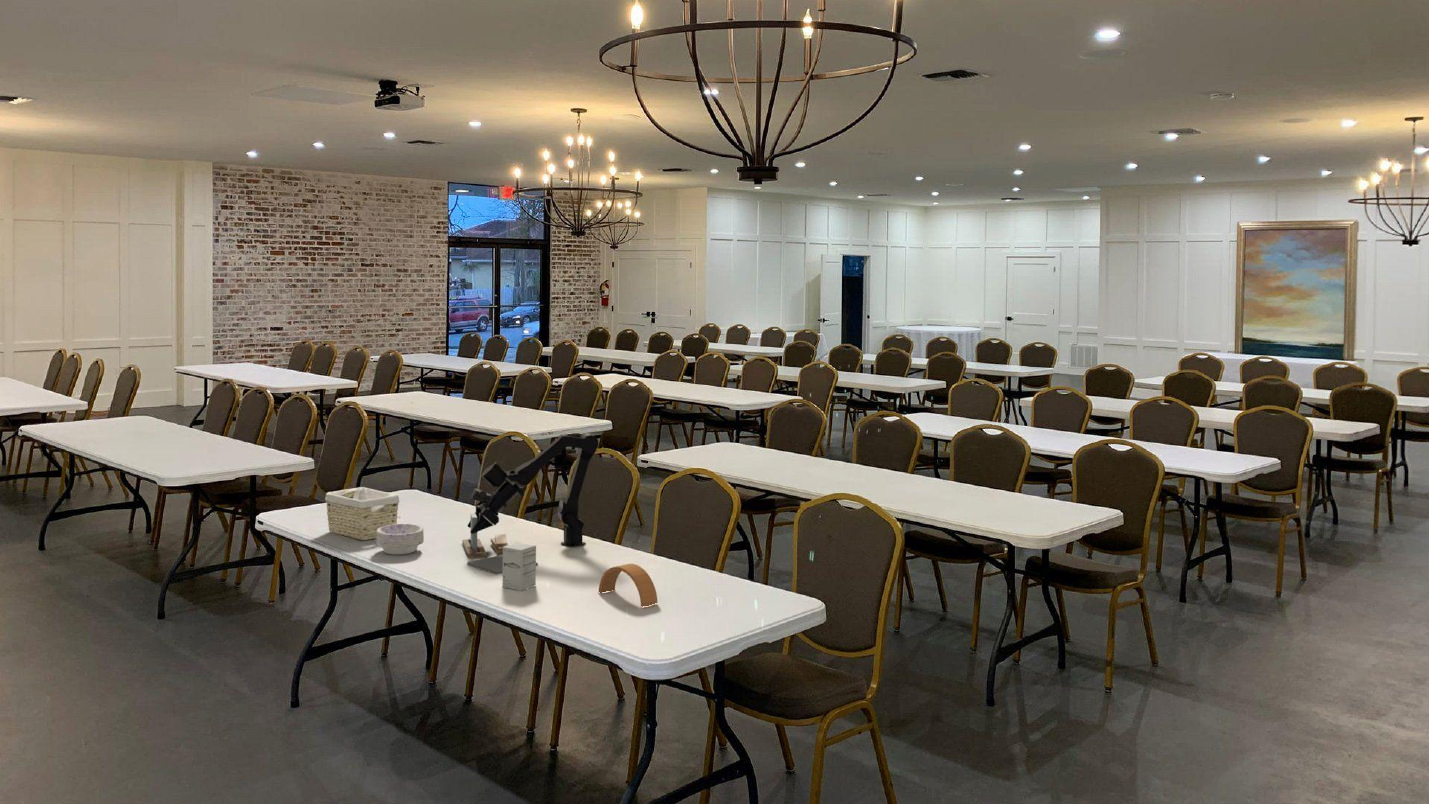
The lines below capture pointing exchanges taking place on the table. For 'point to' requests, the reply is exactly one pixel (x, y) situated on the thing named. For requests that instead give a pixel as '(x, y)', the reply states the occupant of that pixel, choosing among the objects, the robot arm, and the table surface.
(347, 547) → the table surface
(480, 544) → the frame
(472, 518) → the tall grey pillar
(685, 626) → the table surface
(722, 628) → the table surface
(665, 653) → the table surface
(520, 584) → the supplement box
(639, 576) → the arch
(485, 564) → the pad
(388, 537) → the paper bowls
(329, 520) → the storage basket
